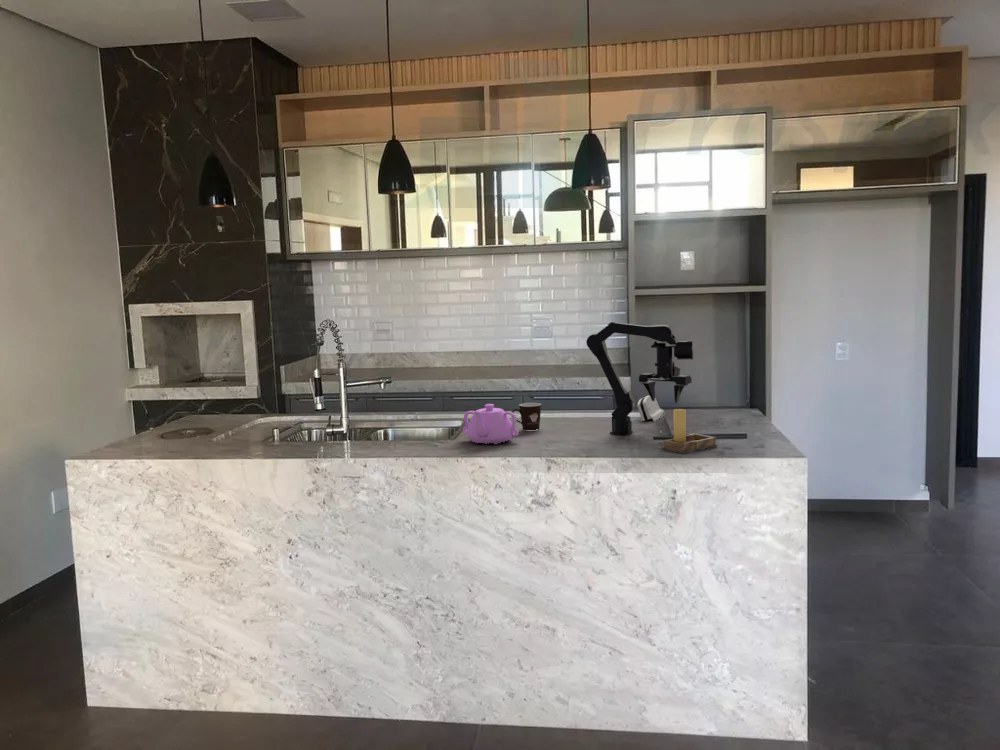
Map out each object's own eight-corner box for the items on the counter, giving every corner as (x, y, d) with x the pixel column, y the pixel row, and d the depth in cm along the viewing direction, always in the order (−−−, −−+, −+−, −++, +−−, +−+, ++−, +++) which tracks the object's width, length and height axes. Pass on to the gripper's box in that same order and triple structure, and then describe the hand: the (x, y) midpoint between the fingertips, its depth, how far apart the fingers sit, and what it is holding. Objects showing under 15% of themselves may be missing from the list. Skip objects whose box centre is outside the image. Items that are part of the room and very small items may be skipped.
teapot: (448, 448, 277) (447, 410, 276) (471, 435, 298) (470, 399, 296) (507, 450, 270) (505, 411, 268) (526, 437, 290) (525, 401, 288)
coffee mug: (542, 427, 307) (541, 402, 306) (541, 431, 299) (540, 406, 297) (513, 427, 308) (512, 403, 307) (511, 432, 300) (510, 406, 299)
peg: (671, 447, 262) (670, 410, 261) (680, 446, 264) (679, 408, 263) (679, 450, 259) (679, 411, 257) (688, 448, 261) (688, 410, 259)
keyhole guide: (683, 453, 256) (683, 444, 255) (661, 448, 264) (661, 440, 263) (716, 446, 265) (716, 437, 264) (694, 441, 273) (694, 433, 272)
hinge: (654, 421, 310) (645, 398, 311) (643, 424, 313) (634, 401, 313) (664, 413, 325) (656, 391, 325) (654, 417, 327) (646, 394, 328)
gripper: (698, 358, 283) (698, 400, 285) (651, 356, 295) (652, 396, 297) (684, 361, 275) (684, 405, 277) (637, 359, 286) (638, 401, 288)
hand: (664, 402), depth 285 cm, fingers open, 9 cm apart
